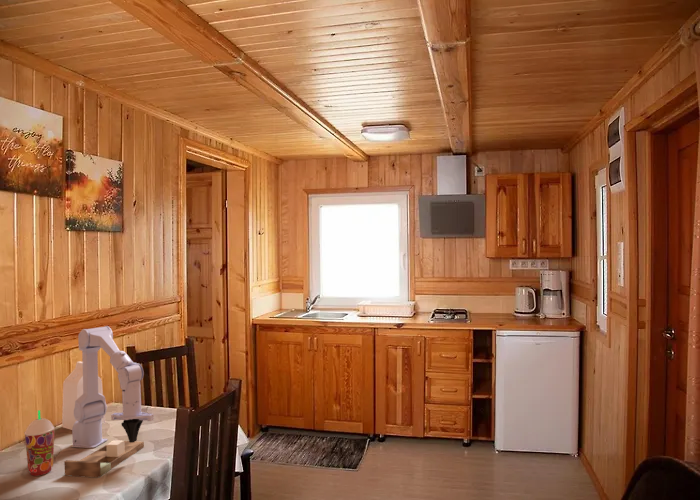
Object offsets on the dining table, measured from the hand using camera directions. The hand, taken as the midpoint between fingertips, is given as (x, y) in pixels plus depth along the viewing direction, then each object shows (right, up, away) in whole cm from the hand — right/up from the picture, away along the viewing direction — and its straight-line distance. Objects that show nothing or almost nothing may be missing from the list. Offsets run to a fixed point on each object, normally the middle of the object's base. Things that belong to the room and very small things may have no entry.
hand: (133, 441), depth 170 cm
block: (-6, -5, +1) cm, 8 cm away
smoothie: (-27, -8, -7) cm, 29 cm away
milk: (-37, -8, +39) cm, 54 cm away
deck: (-9, -7, +1) cm, 12 cm away
